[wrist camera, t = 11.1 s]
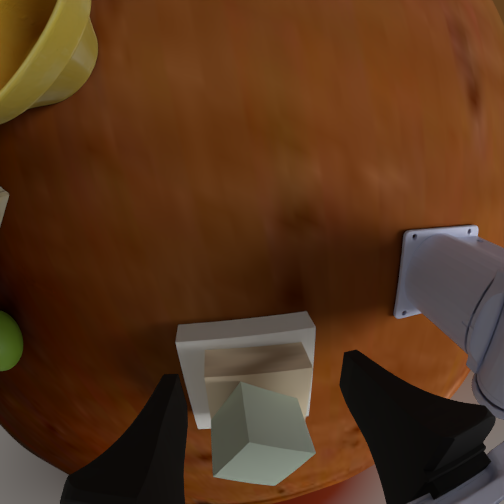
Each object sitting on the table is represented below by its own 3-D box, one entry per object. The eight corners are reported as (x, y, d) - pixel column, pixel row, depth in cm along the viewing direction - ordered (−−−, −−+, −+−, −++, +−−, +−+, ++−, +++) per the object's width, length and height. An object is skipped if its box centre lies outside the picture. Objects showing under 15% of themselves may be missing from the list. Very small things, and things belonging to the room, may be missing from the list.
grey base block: (304, 307, 24) (315, 327, 21) (300, 394, 27) (308, 415, 24) (179, 320, 23) (175, 342, 20) (198, 406, 26) (198, 429, 23)
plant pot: (148, 72, 16) (99, 14, 7) (34, 158, 17) (-58, 171, 8) (98, -18, 13) (50, -83, 4) (-3, 63, 14) (-80, 43, 4)
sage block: (297, 398, 19) (315, 453, 15) (264, 433, 20) (274, 485, 16) (240, 381, 18) (249, 442, 13) (210, 420, 19) (213, 476, 14)
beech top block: (301, 342, 21) (312, 367, 19) (295, 405, 24) (303, 430, 21) (204, 349, 21) (204, 377, 18) (213, 413, 23) (214, 439, 20)
